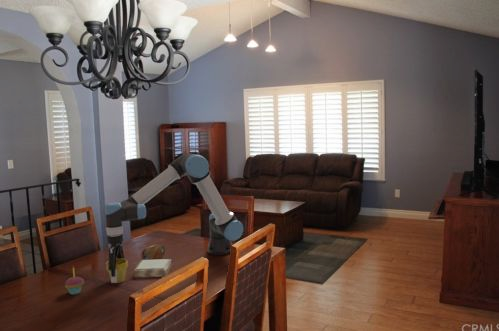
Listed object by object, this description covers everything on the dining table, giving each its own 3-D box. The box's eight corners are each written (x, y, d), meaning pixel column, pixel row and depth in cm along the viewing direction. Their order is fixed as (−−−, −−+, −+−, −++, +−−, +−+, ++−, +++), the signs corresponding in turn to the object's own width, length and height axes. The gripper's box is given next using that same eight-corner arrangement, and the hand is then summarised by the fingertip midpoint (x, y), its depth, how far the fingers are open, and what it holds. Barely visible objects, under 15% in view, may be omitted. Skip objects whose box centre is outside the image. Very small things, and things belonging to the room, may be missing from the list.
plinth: (171, 265, 235) (171, 258, 234) (165, 276, 219) (165, 268, 219) (142, 266, 235) (141, 259, 235) (134, 277, 219) (133, 269, 219)
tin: (144, 264, 238) (143, 249, 237) (141, 263, 240) (140, 248, 239) (165, 257, 250) (164, 242, 249) (161, 256, 252) (161, 242, 251)
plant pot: (102, 283, 212) (101, 264, 211) (116, 275, 222) (114, 257, 221) (119, 285, 208) (118, 266, 207) (133, 278, 218) (131, 259, 217)
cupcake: (65, 290, 205) (63, 266, 203) (84, 287, 208) (82, 263, 207) (65, 297, 197) (63, 271, 195) (85, 293, 200) (83, 268, 199)
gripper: (114, 228, 224) (117, 270, 226) (99, 241, 201) (102, 287, 204) (128, 228, 224) (131, 269, 226) (115, 240, 201) (118, 286, 204)
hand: (117, 278), depth 215 cm, fingers closed on plant pot, 10 cm apart
